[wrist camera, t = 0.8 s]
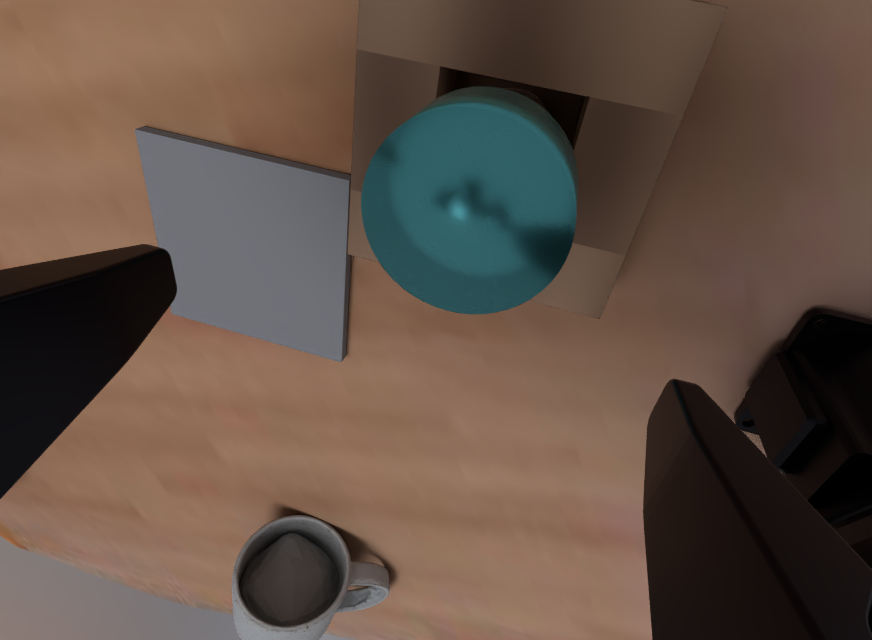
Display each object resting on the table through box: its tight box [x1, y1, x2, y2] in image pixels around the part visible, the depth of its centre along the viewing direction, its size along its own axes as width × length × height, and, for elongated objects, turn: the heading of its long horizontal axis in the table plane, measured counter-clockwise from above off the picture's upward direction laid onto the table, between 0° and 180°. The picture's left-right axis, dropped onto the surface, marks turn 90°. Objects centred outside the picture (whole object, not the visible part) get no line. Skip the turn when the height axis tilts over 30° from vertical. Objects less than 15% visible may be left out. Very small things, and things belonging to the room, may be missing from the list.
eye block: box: [348, 0, 728, 319], centre depth 18 cm, size 10×10×3 cm
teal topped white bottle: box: [361, 86, 578, 314], centre depth 16 cm, size 5×5×8 cm
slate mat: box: [135, 126, 351, 362], centre depth 25 cm, size 10×10×1 cm
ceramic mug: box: [232, 515, 390, 640], centre depth 36 cm, size 11×8×8 cm
